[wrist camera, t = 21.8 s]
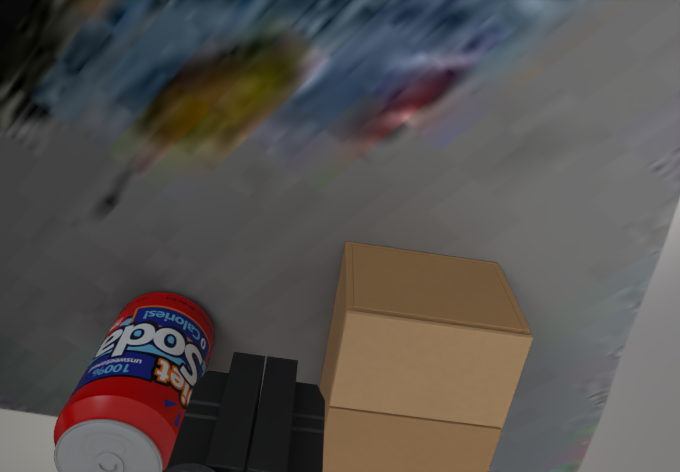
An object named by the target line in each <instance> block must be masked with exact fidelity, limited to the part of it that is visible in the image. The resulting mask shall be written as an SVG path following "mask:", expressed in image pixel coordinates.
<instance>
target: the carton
mask: <svg viewBox="0 0 680 472" xmlns="http://www.w3.org/2000/svg"><path fill="white" fill-rule="evenodd" d="M347 310H349V311H356V312H364V313H371V314H378V315H386V316H393V317H400V318H408V319H415V320H422V321H430V322H437V323H444V324H451V325H459V326H466V327H473V328H481V329H488V330H495V331H503V332H510V333H517V334H524V335H530V332H531V330H530V328H529V326H528V324H527V322H526V320H525V318H524V316H523V314H522V312H521V310H520V308H519V305H518V303H517V301H516V299H515V297H514V295H513V293H512V291H511V289H510V287H509V285H508V283H507V281H506V279H505V276H504V274H503V272H502V270H501V268H500V266H499V264H498V263H494V262H487V261H480V260H473V259H466V258H459V257H452V256H445V255H438V254H432V253H425V252H418V251H411V250H404V249H397V248H390V247H383V246H376V245H369V244H362V243H355V242H348V241H346V242H345V247H344V252H343V258H342V264H341V269H340V275H339V280H338V286H337V292H336V297H335V303H334V308H333V314H332V320H331V325H330V331H329V337H328V342H327V348H326V353H325V359H324V365H323V370H322V376H321V381H320V387H319V390H320V392H321V394H322V396H323V397H324V399H325V418H324V421H325V422H324V450H323V472H488V470H489V467H490V464H491V461H492V458H493V455H494V453H495V450H496V447H497V444H498V441H499V438H500V435H501V432H502V429H501V428H500V427H492V426H484V425H476V424H468V423H460V422H452V421H445V420H437V419H429V418H421V417H413V416H405V415H397V414H390V413H382V412H374V411H366V410H358V409H350V408H342V407H335V406H329V402H330V396H331V391H332V386H333V381H334V375H335V370H336V365H337V360H338V354H339V349H340V344H341V338H342V333H343V328H344V323H345V317H346V312H347Z"/></svg>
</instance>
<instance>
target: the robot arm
mask: <svg viewBox="0 0 680 472" xmlns="http://www.w3.org/2000/svg"><path fill="white" fill-rule="evenodd" d="M264 361H265V356H261V355H253V354H246V353H238V352H234V355H233V359H232V363H231V367H230V371H229V373H222V372H214V371H207V372H206V373H205V374H204V375H203V376H202V377H201V378H200V379H199V380H198V381H197V382H196V383H195V384H194V387H193V390H192V393H191V396H190V399H189V403H188V405H187V408H186V411H185V415H184V417H183V420H182V423H181V426H180V429H179V432H178V435H177V438H176V441H175V444H174V447H173V450H172V453H171V456H170V459H169V462H168V465H167V467H166V469H165V470H164V471H162V472H323V450H324V422H325V421H324V418H325V399H324V397H323V396H322V394H321V392H320V390H319V388H318V386H317V385H314V384H306V383H299V382H296V373H297V364H298V360H291V359H284V358H276V357H269V356H268V357H267V363H266V368H265V374H264V380H263V385H262V391H261V384H262V376H263V369H264ZM260 391H261V396H260ZM259 398H260V402H259ZM258 406H259V408H258Z"/></svg>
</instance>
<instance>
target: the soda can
mask: <svg viewBox="0 0 680 472" xmlns="http://www.w3.org/2000/svg"><path fill="white" fill-rule="evenodd" d="M213 346H214V330H213V326H212V324H211V321H210V319H209V318H208V316H207V315H206V313H205V312H204V311H203V310H202V309H201V308H200V307H199V306H198V305H197V304H195V303H194V302H193V301H191V300H189V299H187V298H185V297H183V296H181V295H178V294H174V293H168V292H153V293H147V294H144V295H141V296H139V297H137V298H135V299H133V300H132V301H130V302H129V303H128V304H127V305H126V306H125V307H124V308H123V310H122V311H121V312H120V314H119V316H118V317H117V319H116V321H115V322H114V324H113V326H112V327H111V329H110V331H109V332H108V334H107V336H106V337H105V339H104V341H103V342H102V344H101V346H100V348H99V349H98V351H97V353H96V354H95V356H94V358H93V359H92V361H91V363H90V364H89V366H88V368H87V369H86V371H85V373H84V375H83V376H82V378H81V380H80V381H79V383H78V385H77V386H76V388H75V390H74V391H73V393H72V395H71V396H70V398H69V400H68V401H67V403H66V405H65V407H64V408H63V410H62V412H61V414H60V415H59V417H58V419H57V422H56V425H55V429H54V443H55V452H54V460H55V465H56V468H57V470H58V472H162V471H164V470H165V469H166V467H167V465H168V462H169V459H170V456H171V453H172V450H173V447H174V444H175V441H176V438H177V435H178V432H179V429H180V426H181V423H182V420H183V417H184V415H185V411H186V408H187V405H188V403H189V399H190V396H191V393H192V390H193V387H194V384H195V383H196V382H197V381H198V380H199V379H200V378H201V377H202V376H203V375H204V374H205V372H206V369H207V366H208V363H209V360H210V357H211V353H212V350H213Z"/></svg>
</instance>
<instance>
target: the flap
mask: <svg viewBox="0 0 680 472" xmlns="http://www.w3.org/2000/svg"><path fill="white" fill-rule="evenodd" d="M532 341H533V338H532V336H531V335H524V334H517V333H510V332H503V331H495V330H488V329H481V328H473V327H466V326H459V325H451V324H444V323H437V322H430V321H422V320H415V319H408V318H400V317H393V316H386V315H378V314H371V313H364V312H356V311H349V310H347V312H346V317H345V323H344V328H343V333H342V338H341V344H340V349H339V354H338V360H337V365H336V370H335V375H334V381H333V386H332V391H331V396H330V402H329V406H335V407H342V408H350V409H358V410H366V411H374V412H382V413H390V414H397V415H405V416H413V417H421V418H429V419H437V420H445V421H452V422H460V423H468V424H476V425H484V426H492V427H500V428H503V425H504V422H505V419H506V416H507V413H508V410H509V408H510V405H511V402H512V399H513V396H514V393H515V390H516V387H517V384H518V381H519V378H520V376H521V373H522V370H523V367H524V364H525V361H526V358H527V355H528V352H529V349H530V346H531V343H532Z"/></svg>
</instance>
